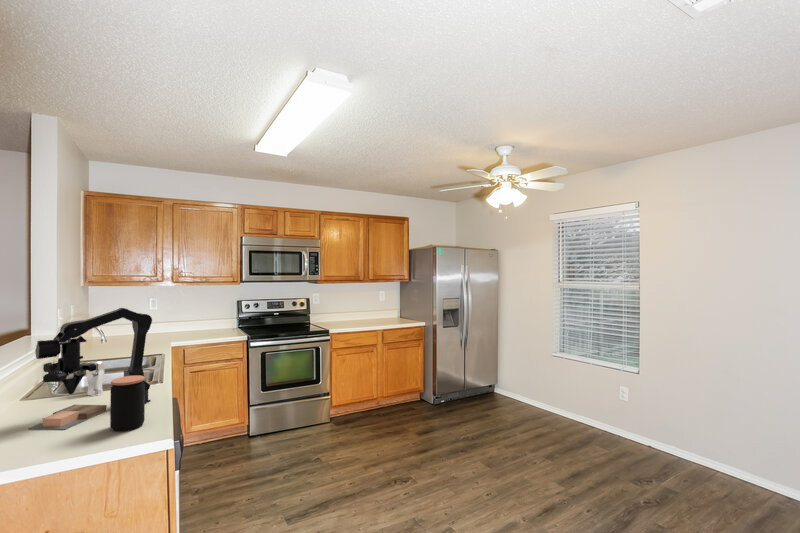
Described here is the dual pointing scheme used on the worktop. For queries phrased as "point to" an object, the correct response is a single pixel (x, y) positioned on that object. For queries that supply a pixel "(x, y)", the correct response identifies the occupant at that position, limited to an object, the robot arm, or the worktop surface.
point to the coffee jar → (127, 403)
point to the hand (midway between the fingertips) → (71, 394)
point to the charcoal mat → (41, 427)
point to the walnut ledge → (86, 410)
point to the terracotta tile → (60, 418)
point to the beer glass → (95, 379)
